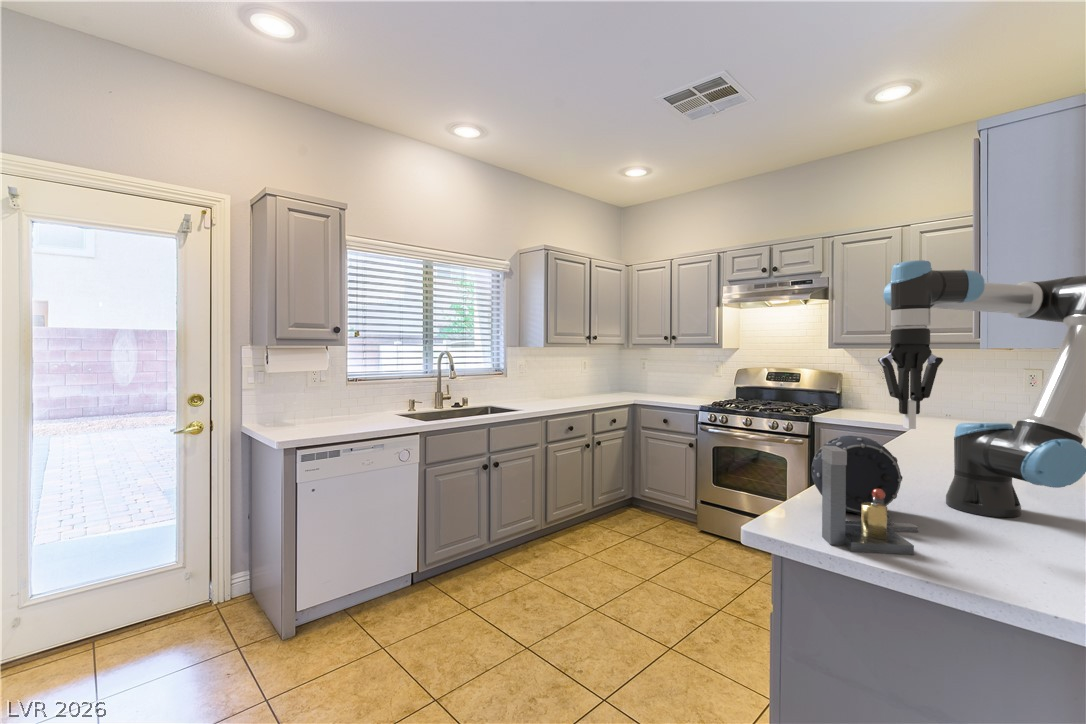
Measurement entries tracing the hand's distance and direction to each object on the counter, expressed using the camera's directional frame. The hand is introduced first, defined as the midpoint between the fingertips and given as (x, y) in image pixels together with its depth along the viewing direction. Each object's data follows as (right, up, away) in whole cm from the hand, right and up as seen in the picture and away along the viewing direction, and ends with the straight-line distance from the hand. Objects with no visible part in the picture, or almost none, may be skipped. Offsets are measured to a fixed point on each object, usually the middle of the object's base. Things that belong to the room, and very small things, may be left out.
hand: (909, 427), depth 118 cm
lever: (-6, -23, +2) cm, 24 cm away
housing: (-13, -23, -7) cm, 27 cm away
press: (-11, -25, -5) cm, 27 cm away
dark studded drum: (-4, -24, +15) cm, 29 cm away
